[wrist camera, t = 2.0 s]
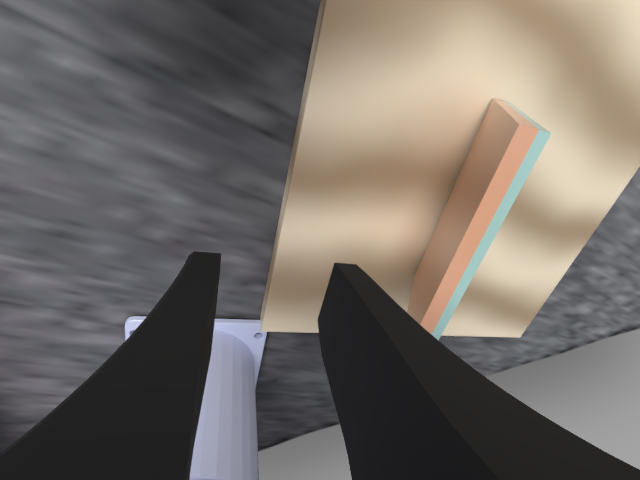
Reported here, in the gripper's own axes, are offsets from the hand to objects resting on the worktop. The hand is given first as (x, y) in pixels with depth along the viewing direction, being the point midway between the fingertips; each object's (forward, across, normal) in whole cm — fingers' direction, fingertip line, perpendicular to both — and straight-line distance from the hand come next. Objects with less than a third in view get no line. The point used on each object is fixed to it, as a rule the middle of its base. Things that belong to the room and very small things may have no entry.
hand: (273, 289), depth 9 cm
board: (+9, -11, 0) cm, 14 cm away
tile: (+5, -8, 0) cm, 9 cm away
